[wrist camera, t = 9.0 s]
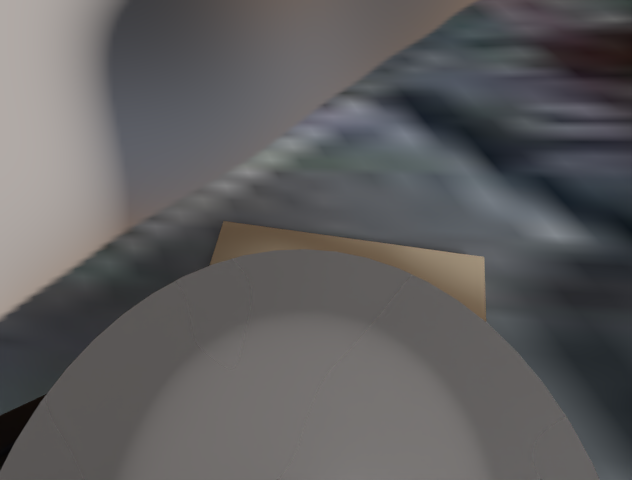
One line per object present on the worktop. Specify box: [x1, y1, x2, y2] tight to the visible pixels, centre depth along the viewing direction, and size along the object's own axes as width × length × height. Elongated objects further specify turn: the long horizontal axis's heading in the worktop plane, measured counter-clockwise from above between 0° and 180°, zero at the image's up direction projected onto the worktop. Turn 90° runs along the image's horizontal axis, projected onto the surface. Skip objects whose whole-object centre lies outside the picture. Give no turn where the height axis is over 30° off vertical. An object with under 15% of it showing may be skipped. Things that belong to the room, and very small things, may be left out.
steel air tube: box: [0, 249, 599, 480], centre depth 9 cm, size 5×5×14 cm
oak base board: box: [210, 221, 486, 322], centre depth 16 cm, size 18×14×2 cm
